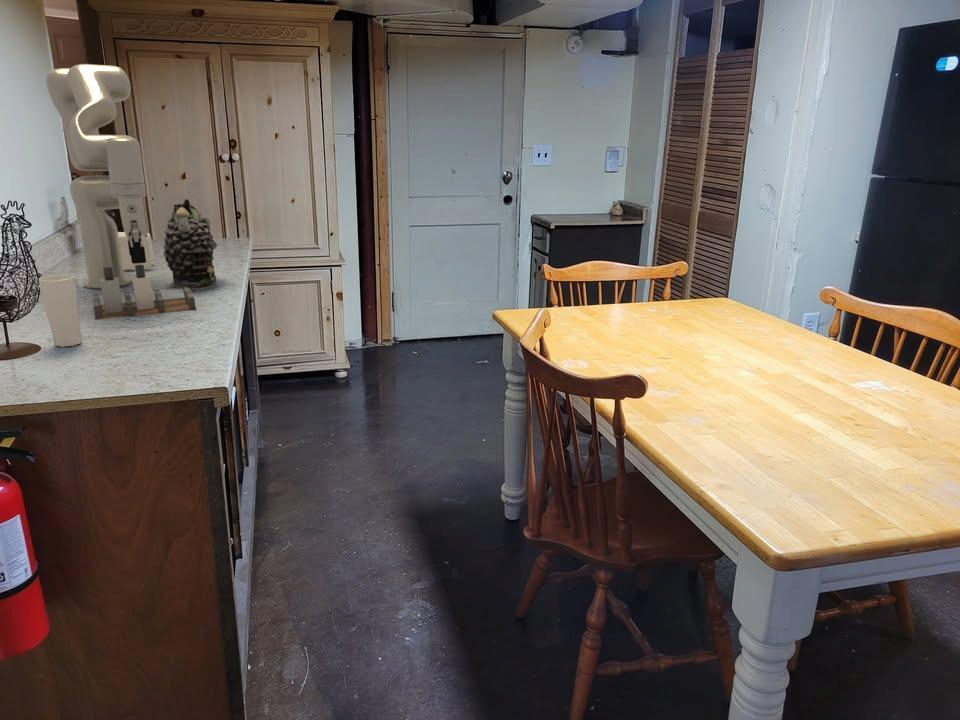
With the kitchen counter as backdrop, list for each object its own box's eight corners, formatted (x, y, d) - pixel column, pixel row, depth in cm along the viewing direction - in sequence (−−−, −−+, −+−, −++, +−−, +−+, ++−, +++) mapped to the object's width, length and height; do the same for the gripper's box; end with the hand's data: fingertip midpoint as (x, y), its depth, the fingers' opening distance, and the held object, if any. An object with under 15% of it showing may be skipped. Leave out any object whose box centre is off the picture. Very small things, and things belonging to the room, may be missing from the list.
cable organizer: (101, 272, 226) (96, 236, 222) (106, 266, 236) (101, 231, 232) (152, 270, 231) (147, 235, 227) (155, 264, 240) (150, 230, 236)
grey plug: (105, 309, 178) (98, 266, 175) (122, 307, 180) (116, 265, 176) (105, 313, 175) (98, 269, 171) (123, 311, 177) (116, 268, 173)
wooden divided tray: (95, 309, 182) (92, 294, 181) (189, 301, 192) (187, 286, 191) (96, 324, 170) (93, 307, 168) (196, 314, 180) (194, 298, 179)
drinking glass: (61, 351, 150) (48, 282, 145) (44, 345, 153) (31, 278, 148) (92, 343, 155) (81, 277, 150) (75, 338, 159) (63, 273, 154)
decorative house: (223, 290, 206) (214, 203, 198) (167, 293, 200) (156, 205, 192) (219, 276, 224) (210, 196, 216) (168, 279, 218) (157, 197, 210)
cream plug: (153, 304, 183) (147, 263, 180) (154, 308, 180) (148, 266, 176) (136, 306, 182) (130, 264, 178) (137, 310, 178) (131, 267, 175)
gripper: (148, 194, 166) (156, 265, 172) (142, 186, 180) (151, 252, 186) (112, 194, 162) (122, 267, 168) (110, 186, 177) (119, 253, 182)
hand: (137, 259), depth 177 cm, fingers open, 9 cm apart
